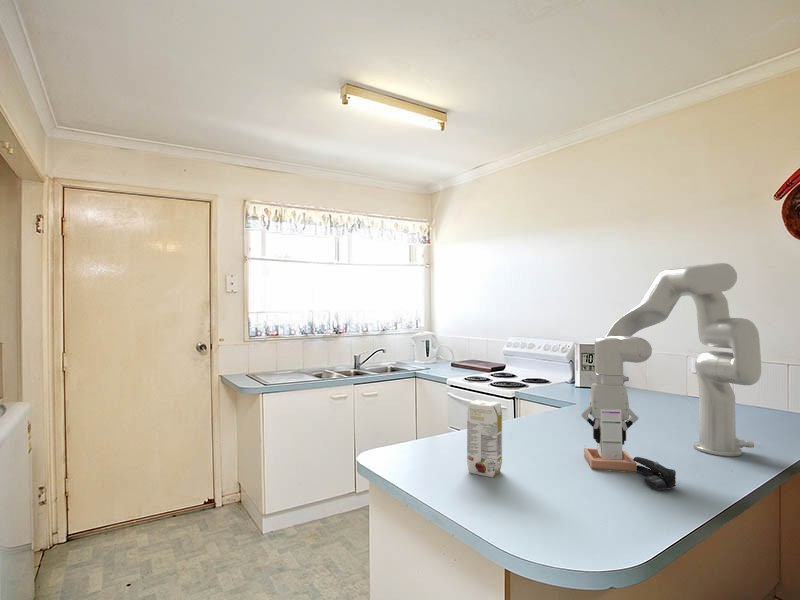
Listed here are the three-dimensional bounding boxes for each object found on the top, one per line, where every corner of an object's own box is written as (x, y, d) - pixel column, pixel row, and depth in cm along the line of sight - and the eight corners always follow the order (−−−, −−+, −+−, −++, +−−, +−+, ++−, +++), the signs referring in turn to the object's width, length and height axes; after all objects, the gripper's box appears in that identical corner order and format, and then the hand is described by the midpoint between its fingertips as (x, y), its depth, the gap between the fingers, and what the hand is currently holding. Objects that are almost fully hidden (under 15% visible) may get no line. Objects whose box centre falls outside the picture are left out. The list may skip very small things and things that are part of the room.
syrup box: (623, 461, 127) (622, 409, 128) (600, 459, 129) (600, 408, 129) (617, 454, 133) (617, 405, 133) (596, 453, 134) (596, 404, 134)
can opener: (684, 495, 110) (684, 471, 110) (654, 493, 110) (654, 470, 110) (649, 469, 127) (649, 449, 127) (624, 468, 128) (624, 448, 128)
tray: (625, 459, 135) (625, 450, 135) (636, 472, 124) (636, 463, 124) (584, 456, 138) (584, 448, 138) (591, 469, 126) (591, 460, 126)
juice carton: (494, 479, 118) (494, 406, 119) (464, 473, 123) (464, 402, 123) (504, 470, 124) (504, 401, 125) (475, 465, 129) (475, 398, 129)
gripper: (637, 379, 133) (637, 440, 133) (575, 377, 137) (575, 437, 136) (645, 383, 126) (646, 448, 125) (579, 381, 129) (580, 444, 129)
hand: (609, 441), depth 131 cm, fingers closed on syrup box, 5 cm apart
